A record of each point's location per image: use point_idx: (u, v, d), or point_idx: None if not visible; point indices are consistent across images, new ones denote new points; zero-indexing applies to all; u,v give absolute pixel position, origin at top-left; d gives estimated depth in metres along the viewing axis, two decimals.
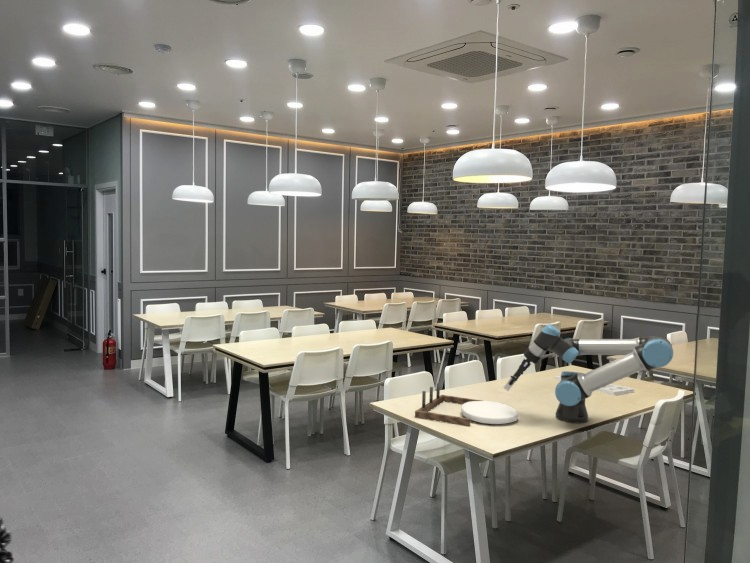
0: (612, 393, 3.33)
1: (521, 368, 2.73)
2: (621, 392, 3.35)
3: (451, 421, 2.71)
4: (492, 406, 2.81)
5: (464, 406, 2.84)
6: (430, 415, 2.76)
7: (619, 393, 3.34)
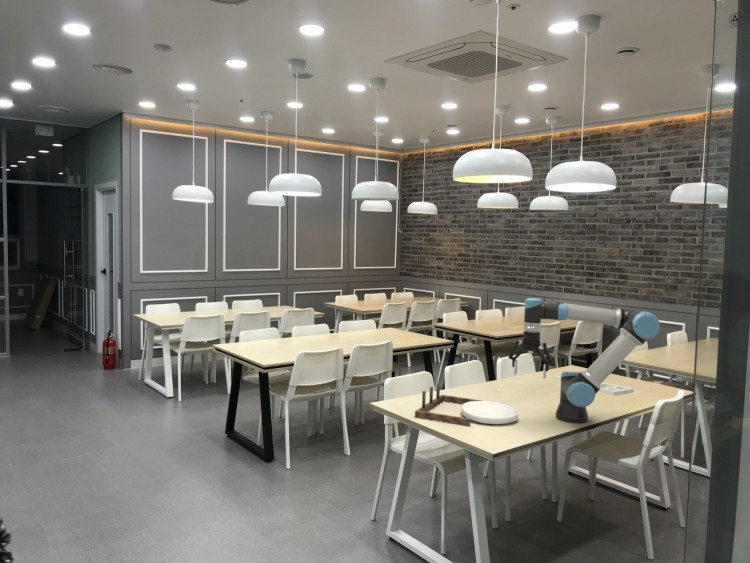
0: (612, 393, 3.33)
1: (547, 350, 2.68)
2: (621, 392, 3.35)
3: (451, 421, 2.71)
4: (492, 406, 2.81)
5: (464, 406, 2.84)
6: (430, 415, 2.76)
7: (619, 393, 3.34)
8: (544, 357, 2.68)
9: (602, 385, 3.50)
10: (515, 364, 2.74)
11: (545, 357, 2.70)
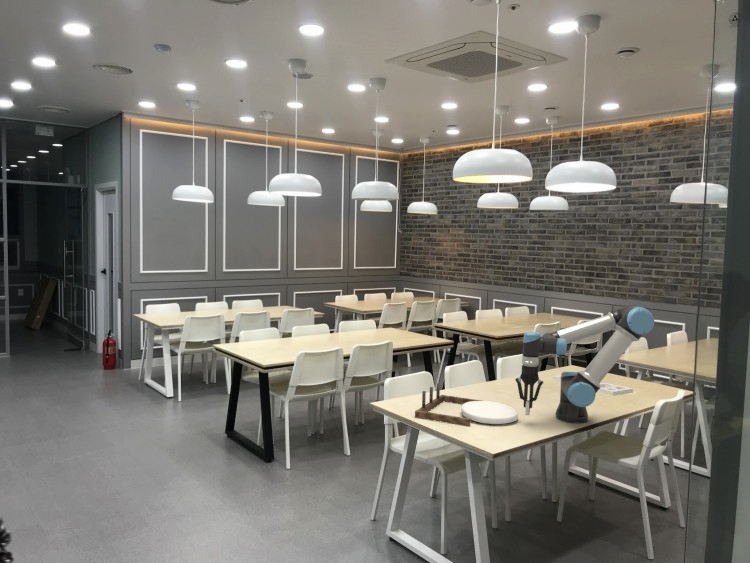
0: (611, 393, 3.33)
1: (539, 388, 2.70)
2: (620, 392, 3.35)
3: (451, 421, 2.71)
4: (492, 406, 2.81)
5: (464, 406, 2.84)
6: (430, 415, 2.76)
7: (618, 393, 3.34)
8: (532, 394, 2.71)
9: (601, 385, 3.50)
10: (527, 404, 2.72)
11: None
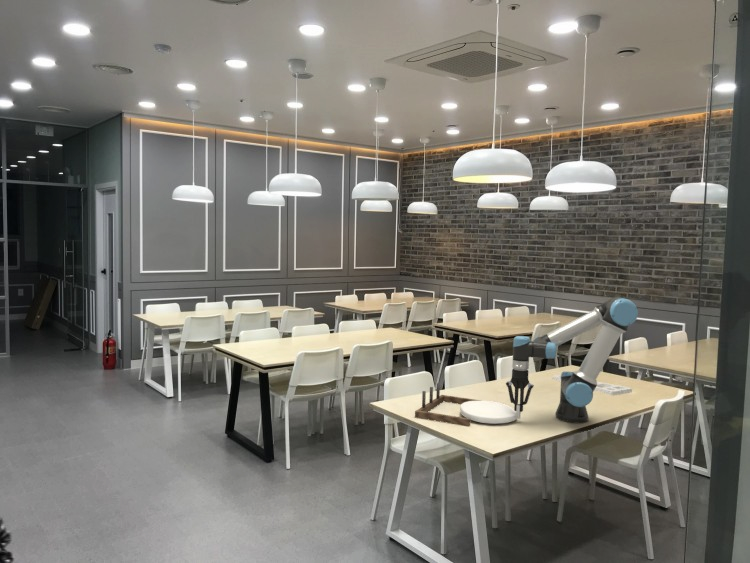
0: (610, 393, 3.33)
1: (529, 392, 2.72)
2: (619, 392, 3.35)
3: (451, 421, 2.71)
4: (491, 406, 2.81)
5: (463, 406, 2.84)
6: (430, 415, 2.76)
7: (617, 393, 3.34)
8: (522, 398, 2.73)
9: (600, 385, 3.51)
10: (517, 408, 2.74)
11: (523, 398, 2.75)
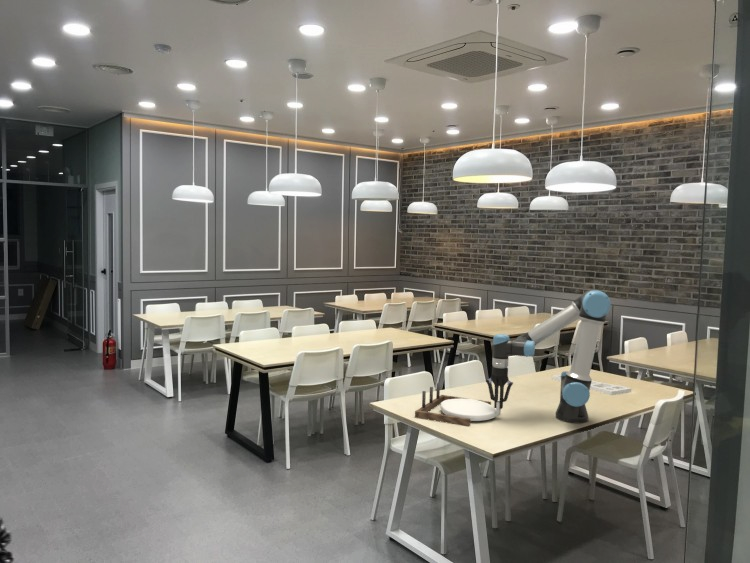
0: (609, 393, 3.34)
1: (509, 389, 2.76)
2: (618, 392, 3.35)
3: (451, 421, 2.71)
4: (471, 403, 2.85)
5: (443, 404, 2.86)
6: (430, 415, 2.76)
7: (616, 393, 3.35)
8: (502, 395, 2.78)
9: (600, 385, 3.51)
10: (497, 405, 2.78)
11: (503, 395, 2.79)
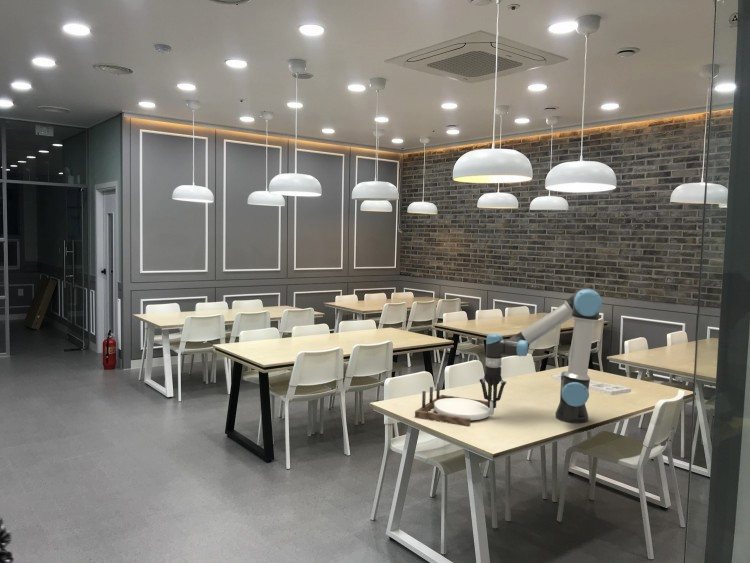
0: (609, 393, 3.34)
1: (502, 388, 2.78)
2: (618, 392, 3.36)
3: (451, 421, 2.71)
4: (464, 403, 2.86)
5: (437, 404, 2.86)
6: (430, 415, 2.76)
7: (616, 393, 3.35)
8: (496, 394, 2.79)
9: (599, 385, 3.51)
10: (490, 404, 2.80)
11: (496, 394, 2.81)
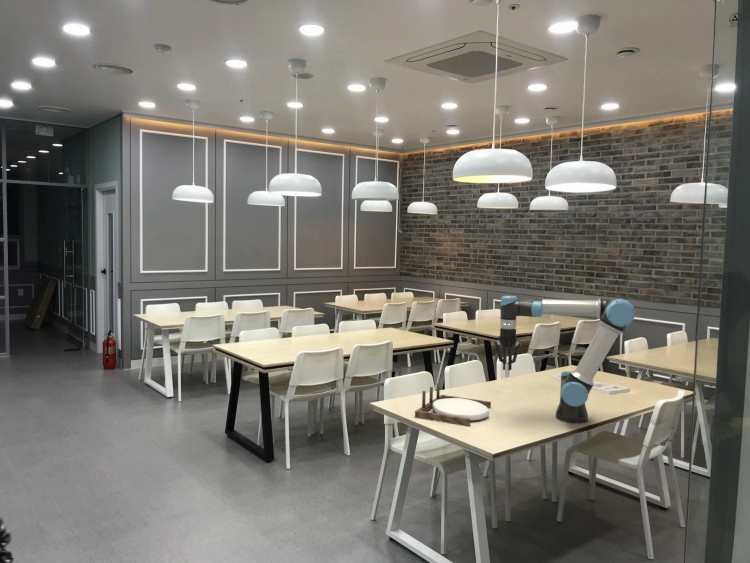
0: (607, 392, 3.34)
1: (518, 350, 2.76)
2: (616, 391, 3.36)
3: (451, 421, 2.71)
4: (463, 403, 2.86)
5: (436, 404, 2.86)
6: (430, 415, 2.76)
7: (614, 392, 3.35)
8: (511, 356, 2.77)
9: (598, 384, 3.51)
10: (506, 367, 2.77)
11: (511, 356, 2.78)
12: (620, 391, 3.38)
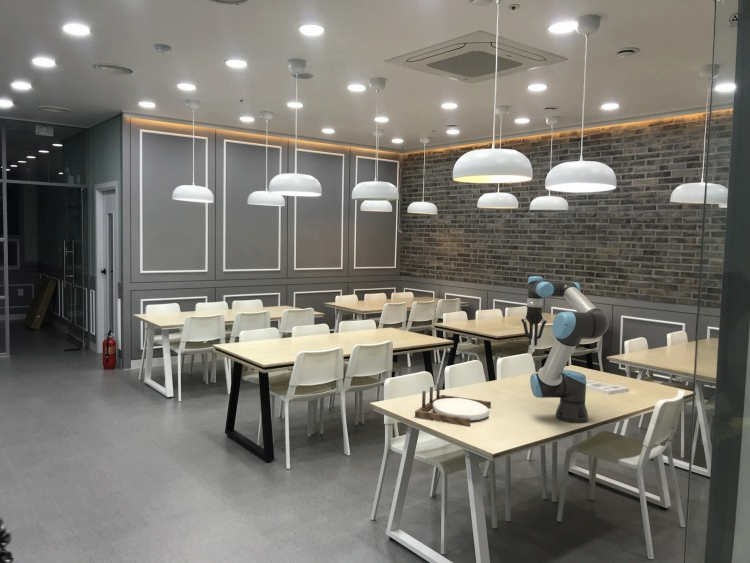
0: (606, 392, 3.34)
1: (543, 327, 2.97)
2: (615, 391, 3.36)
3: (451, 421, 2.71)
4: (463, 403, 2.86)
5: (436, 404, 2.86)
6: (430, 415, 2.76)
7: (613, 392, 3.35)
8: (537, 333, 2.99)
9: (597, 384, 3.52)
10: (532, 342, 2.99)
11: (537, 333, 3.00)
12: (619, 391, 3.38)
